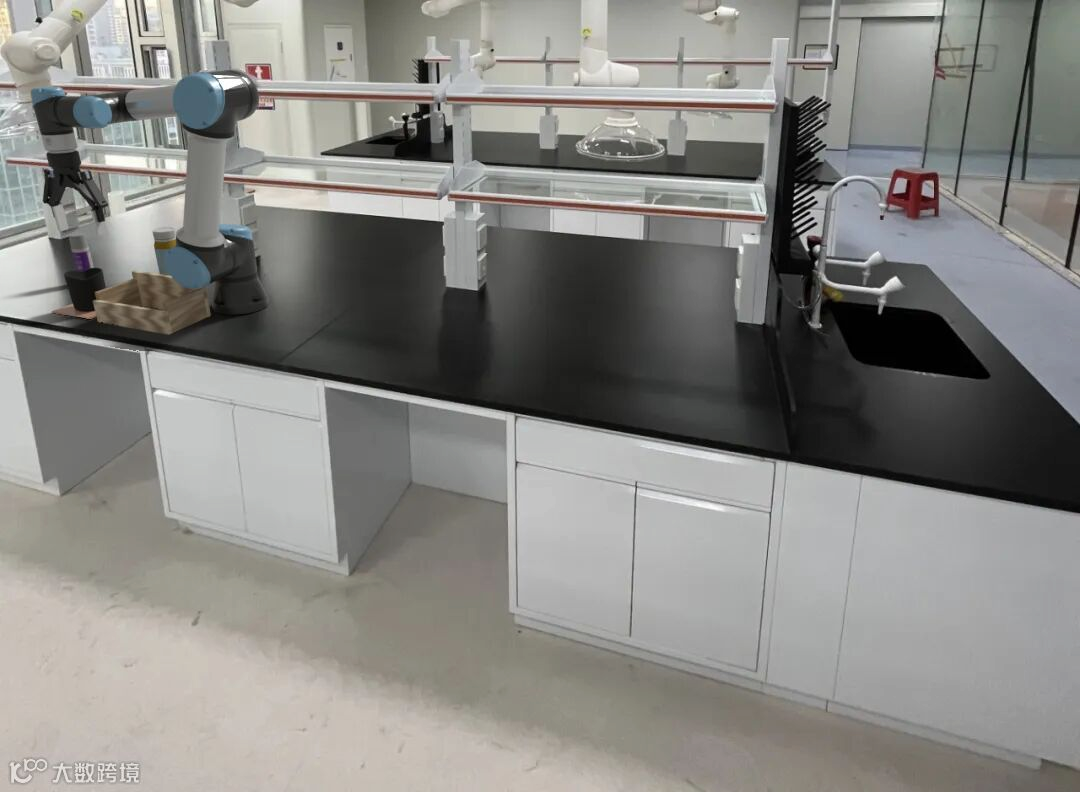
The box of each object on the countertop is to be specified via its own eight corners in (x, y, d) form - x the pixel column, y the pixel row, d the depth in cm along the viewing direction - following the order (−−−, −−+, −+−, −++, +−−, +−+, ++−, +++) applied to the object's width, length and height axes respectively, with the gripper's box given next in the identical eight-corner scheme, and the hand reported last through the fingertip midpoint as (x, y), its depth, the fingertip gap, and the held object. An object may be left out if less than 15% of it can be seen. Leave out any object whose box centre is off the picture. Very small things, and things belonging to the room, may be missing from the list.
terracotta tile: (131, 304, 230) (130, 302, 229) (90, 320, 218) (89, 318, 217) (94, 298, 234) (93, 296, 234) (52, 313, 222) (51, 311, 222)
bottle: (173, 281, 249) (164, 233, 242) (155, 278, 251) (145, 231, 244) (189, 274, 255) (180, 228, 248) (171, 272, 257) (162, 226, 250)
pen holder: (96, 313, 221) (87, 278, 216) (65, 311, 222) (56, 276, 218) (117, 302, 229) (109, 268, 225) (87, 300, 230) (79, 266, 226)
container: (78, 285, 244) (66, 236, 238) (81, 281, 248) (69, 233, 242) (95, 284, 245) (83, 235, 239) (98, 279, 250) (87, 232, 243)
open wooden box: (210, 315, 222) (204, 280, 217) (168, 334, 209) (161, 297, 204) (142, 304, 230) (134, 270, 225) (97, 322, 217) (89, 286, 212)
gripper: (13, 150, 209) (36, 231, 218) (86, 155, 201) (107, 238, 211) (38, 146, 216) (59, 225, 225) (110, 150, 208) (129, 232, 217)
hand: (82, 232), depth 218 cm, fingers open, 13 cm apart
